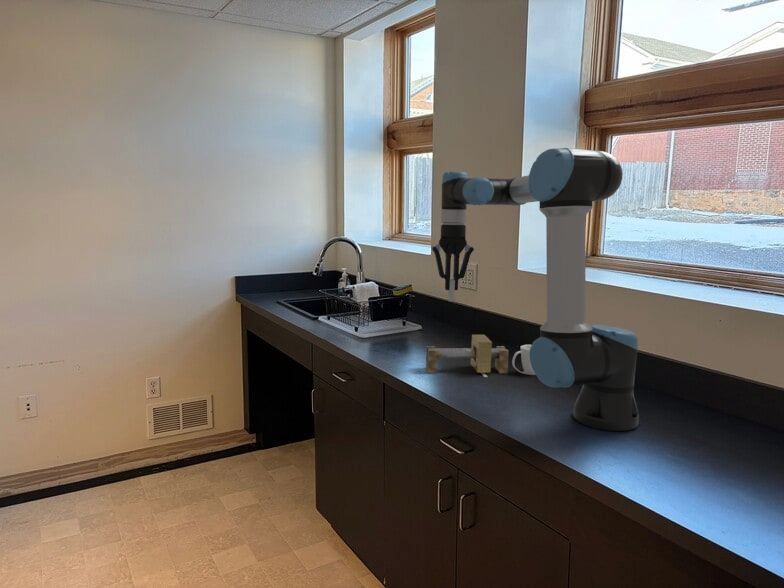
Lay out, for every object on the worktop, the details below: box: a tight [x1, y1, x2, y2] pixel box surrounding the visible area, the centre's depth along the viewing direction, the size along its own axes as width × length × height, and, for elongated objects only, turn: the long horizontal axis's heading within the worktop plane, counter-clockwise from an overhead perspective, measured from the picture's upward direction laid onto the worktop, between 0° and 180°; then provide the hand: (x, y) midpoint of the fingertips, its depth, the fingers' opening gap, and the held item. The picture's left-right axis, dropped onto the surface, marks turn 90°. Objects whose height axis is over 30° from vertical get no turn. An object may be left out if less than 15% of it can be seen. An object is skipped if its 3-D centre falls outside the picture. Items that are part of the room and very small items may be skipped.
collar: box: [470, 334, 493, 373], centre depth 185 cm, size 4×9×9 cm, turn 5°
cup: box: [511, 344, 536, 376], centre depth 184 cm, size 7×10×8 cm
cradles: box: [425, 345, 509, 375], centre depth 185 cm, size 24×6×7 cm, turn 95°
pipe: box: [428, 347, 507, 359], centre depth 185 cm, size 24×3×3 cm, turn 95°
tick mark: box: [480, 372, 488, 378], centre depth 186 cm, size 1×14×1 cm, turn 5°
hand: (451, 300), depth 186 cm, fingers closed
